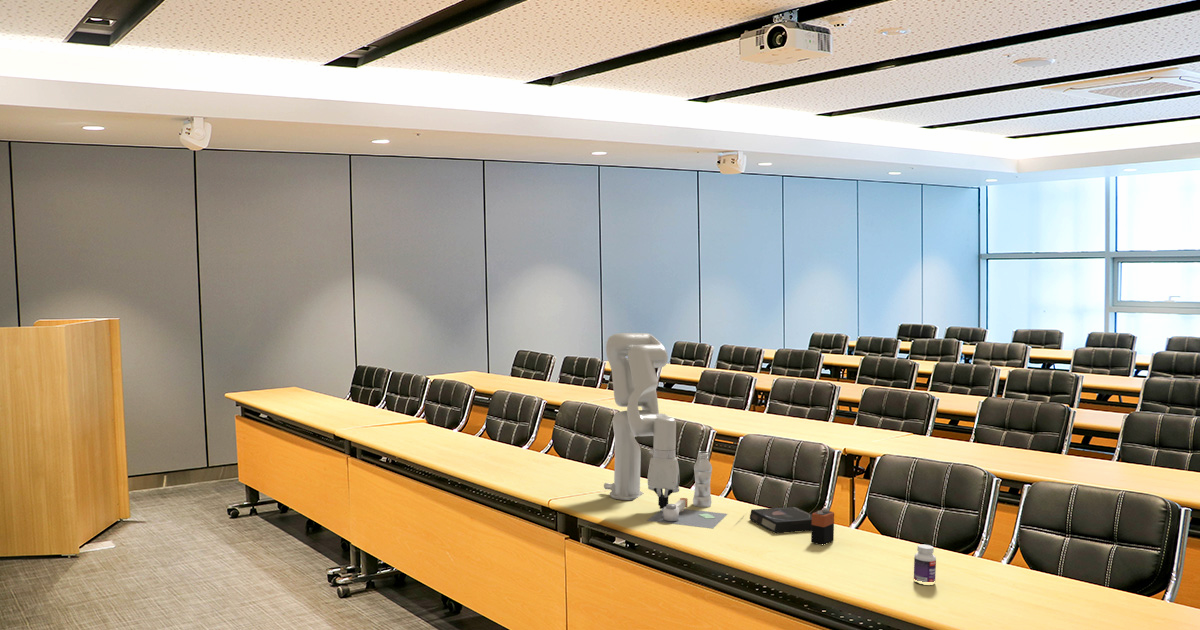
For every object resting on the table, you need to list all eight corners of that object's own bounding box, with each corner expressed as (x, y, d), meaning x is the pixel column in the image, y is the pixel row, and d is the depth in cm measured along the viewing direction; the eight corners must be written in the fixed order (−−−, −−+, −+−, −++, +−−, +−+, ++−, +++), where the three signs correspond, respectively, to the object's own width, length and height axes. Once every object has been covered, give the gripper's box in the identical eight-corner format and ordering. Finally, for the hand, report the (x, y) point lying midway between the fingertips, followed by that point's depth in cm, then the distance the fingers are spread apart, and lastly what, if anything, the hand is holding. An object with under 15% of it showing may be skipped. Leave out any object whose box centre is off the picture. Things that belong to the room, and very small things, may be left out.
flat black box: (749, 521, 294) (749, 509, 294) (794, 518, 300) (794, 506, 299) (774, 535, 279) (774, 522, 279) (821, 531, 284) (821, 519, 284)
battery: (834, 541, 271) (835, 509, 271) (823, 546, 266) (824, 513, 266) (821, 538, 274) (822, 506, 274) (810, 543, 269) (811, 510, 269)
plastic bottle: (711, 507, 311) (712, 450, 310) (711, 512, 304) (712, 454, 303) (692, 506, 311) (693, 450, 311) (692, 511, 304) (694, 453, 304)
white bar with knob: (661, 520, 285) (661, 505, 285) (677, 507, 302) (677, 494, 302) (676, 521, 283) (676, 507, 283) (691, 509, 300) (691, 495, 300)
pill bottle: (932, 587, 230) (934, 550, 230) (911, 583, 233) (912, 547, 233) (937, 581, 235) (938, 545, 234) (916, 578, 238) (917, 542, 237)
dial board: (646, 525, 286) (646, 519, 286) (664, 511, 304) (665, 506, 304) (712, 533, 277) (713, 527, 277) (727, 518, 296) (727, 513, 296)
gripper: (639, 454, 297) (638, 508, 297) (682, 457, 291) (681, 513, 292) (646, 450, 304) (645, 503, 304) (688, 454, 298) (687, 508, 299)
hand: (663, 508), depth 298 cm, fingers closed
